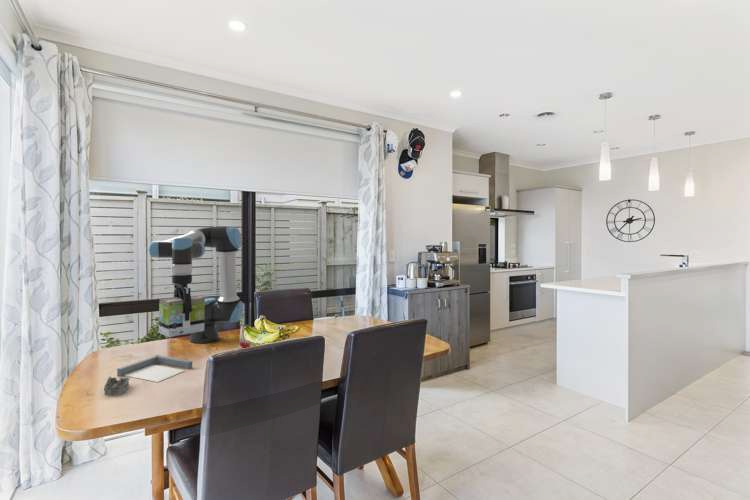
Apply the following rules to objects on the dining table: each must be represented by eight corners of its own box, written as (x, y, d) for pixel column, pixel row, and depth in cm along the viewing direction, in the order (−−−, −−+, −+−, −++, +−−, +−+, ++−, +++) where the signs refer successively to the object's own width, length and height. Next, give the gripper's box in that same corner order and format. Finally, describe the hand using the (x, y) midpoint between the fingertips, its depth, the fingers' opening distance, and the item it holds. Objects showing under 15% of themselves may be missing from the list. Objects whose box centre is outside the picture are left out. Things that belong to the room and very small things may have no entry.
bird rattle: (236, 371, 174) (254, 363, 175) (226, 349, 173) (245, 341, 174) (240, 366, 180) (257, 359, 181) (230, 345, 180) (248, 337, 180)
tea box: (168, 338, 153) (168, 301, 152) (158, 333, 159) (158, 298, 158) (205, 331, 164) (205, 297, 164) (194, 327, 171) (194, 294, 170)
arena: (157, 361, 179) (157, 355, 178) (193, 367, 171) (193, 361, 171) (117, 375, 160) (117, 368, 160) (155, 383, 153) (155, 376, 153)
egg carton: (109, 386, 150) (109, 376, 150) (131, 383, 153) (131, 373, 153) (101, 397, 140) (101, 386, 140) (125, 394, 143) (125, 383, 143)
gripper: (164, 271, 166) (165, 321, 167) (180, 277, 150) (181, 332, 151) (183, 270, 171) (183, 319, 173) (200, 276, 155) (200, 329, 156)
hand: (182, 325), depth 162 cm, fingers closed on tea box, 10 cm apart
